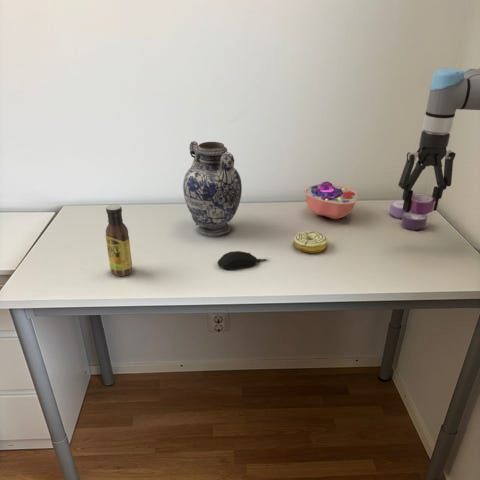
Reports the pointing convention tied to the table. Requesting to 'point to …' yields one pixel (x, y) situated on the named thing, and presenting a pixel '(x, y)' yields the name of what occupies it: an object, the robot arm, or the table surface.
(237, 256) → the gaming mouse
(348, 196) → the cell model
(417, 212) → the dish
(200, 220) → the decorative vase
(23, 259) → the table surface
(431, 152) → the robot arm
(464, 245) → the table surface
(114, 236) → the sauce bottle
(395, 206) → the dish
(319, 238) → the decorated donut
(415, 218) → the dish middle
